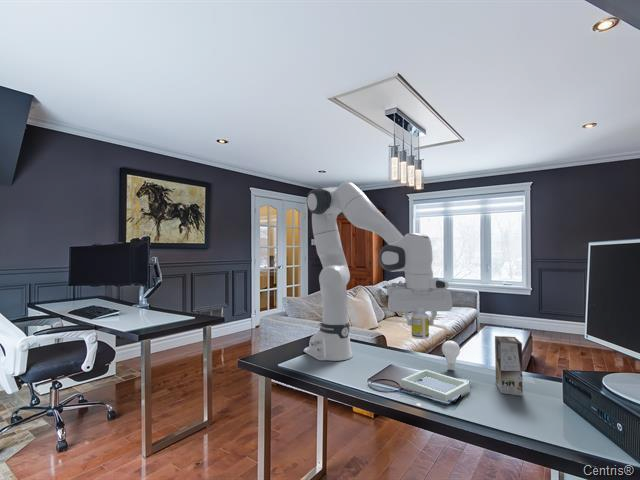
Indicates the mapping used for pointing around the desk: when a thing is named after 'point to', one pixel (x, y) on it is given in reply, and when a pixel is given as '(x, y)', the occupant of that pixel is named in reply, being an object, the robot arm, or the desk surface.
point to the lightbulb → (450, 353)
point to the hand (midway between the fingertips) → (420, 325)
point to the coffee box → (508, 365)
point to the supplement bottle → (420, 324)
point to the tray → (409, 382)
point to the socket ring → (380, 389)
